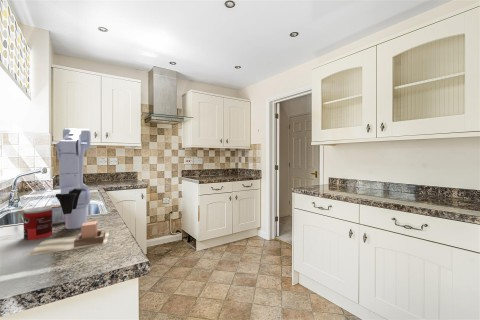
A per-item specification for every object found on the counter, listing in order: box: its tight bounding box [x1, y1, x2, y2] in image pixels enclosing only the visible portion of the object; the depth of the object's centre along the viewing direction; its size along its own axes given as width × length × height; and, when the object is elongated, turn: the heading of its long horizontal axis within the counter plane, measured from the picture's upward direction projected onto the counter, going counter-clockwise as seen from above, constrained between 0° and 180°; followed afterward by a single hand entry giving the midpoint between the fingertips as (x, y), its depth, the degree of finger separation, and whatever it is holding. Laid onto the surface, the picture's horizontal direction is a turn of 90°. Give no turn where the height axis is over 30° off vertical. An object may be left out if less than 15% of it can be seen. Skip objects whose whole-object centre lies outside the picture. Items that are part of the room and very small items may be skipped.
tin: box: [43, 204, 65, 226], centre depth 101 cm, size 15×3×8 cm, turn 141°
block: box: [80, 220, 98, 239], centre depth 78 cm, size 4×4×6 cm
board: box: [27, 229, 110, 257], centre depth 77 cm, size 14×20×3 cm
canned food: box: [22, 206, 53, 241], centre depth 83 cm, size 8×8×11 cm
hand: (70, 211), depth 82 cm, fingers open, 7 cm apart
